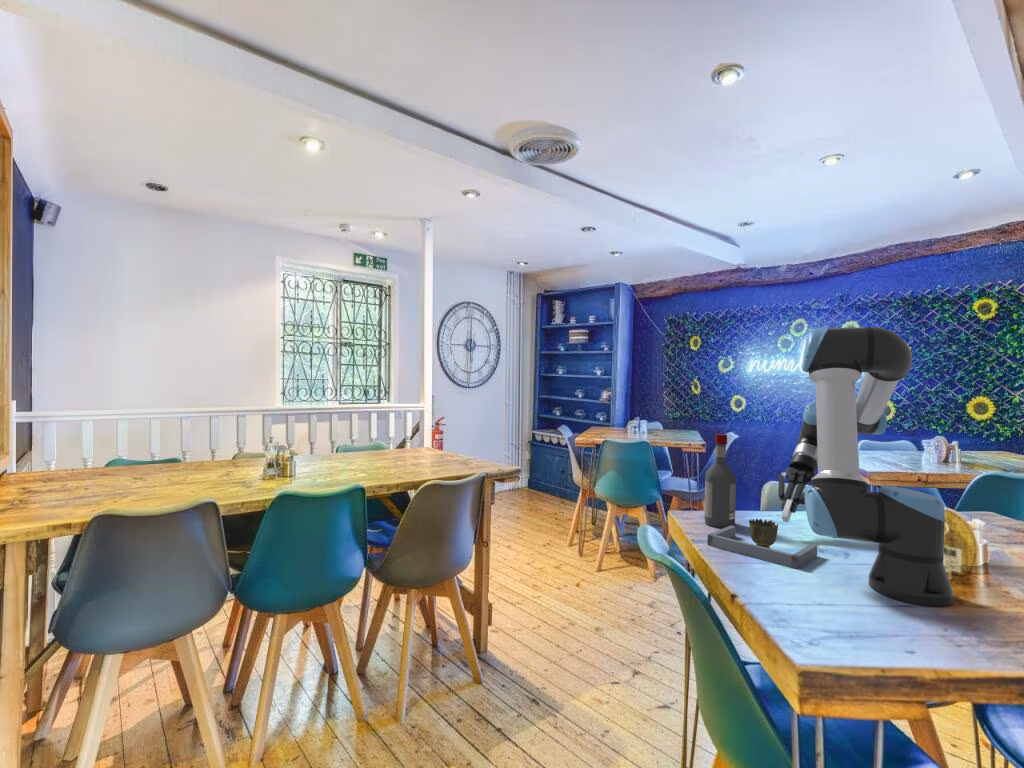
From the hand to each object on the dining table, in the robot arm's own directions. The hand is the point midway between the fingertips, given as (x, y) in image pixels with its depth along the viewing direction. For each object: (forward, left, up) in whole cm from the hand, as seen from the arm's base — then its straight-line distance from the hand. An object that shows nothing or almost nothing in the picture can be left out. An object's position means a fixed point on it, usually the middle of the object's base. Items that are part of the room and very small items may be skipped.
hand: (784, 519), depth 155 cm
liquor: (+20, +1, -6) cm, 21 cm away
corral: (0, +17, -6) cm, 18 cm away
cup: (0, +17, -6) cm, 18 cm away
